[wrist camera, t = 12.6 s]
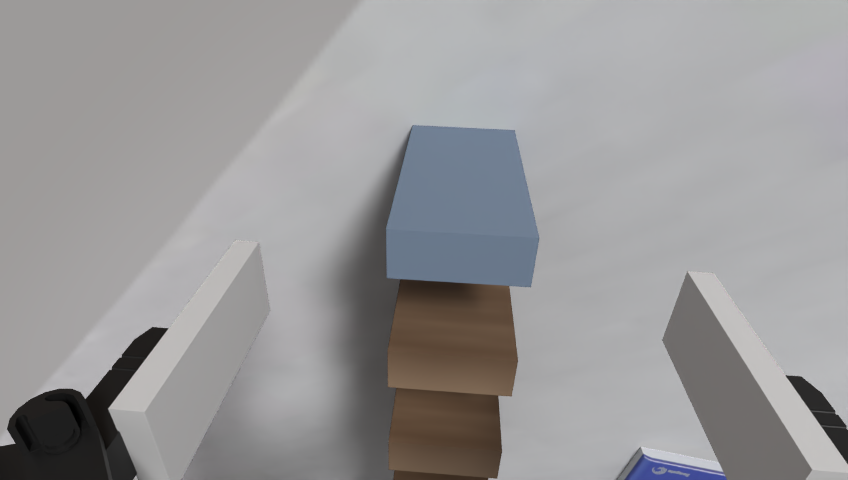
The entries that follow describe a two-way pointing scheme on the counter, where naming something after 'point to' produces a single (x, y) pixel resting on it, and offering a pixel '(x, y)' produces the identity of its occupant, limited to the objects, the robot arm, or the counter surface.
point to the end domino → (462, 210)
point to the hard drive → (670, 467)
